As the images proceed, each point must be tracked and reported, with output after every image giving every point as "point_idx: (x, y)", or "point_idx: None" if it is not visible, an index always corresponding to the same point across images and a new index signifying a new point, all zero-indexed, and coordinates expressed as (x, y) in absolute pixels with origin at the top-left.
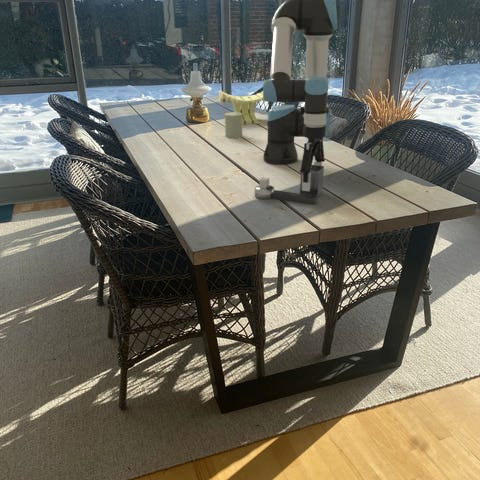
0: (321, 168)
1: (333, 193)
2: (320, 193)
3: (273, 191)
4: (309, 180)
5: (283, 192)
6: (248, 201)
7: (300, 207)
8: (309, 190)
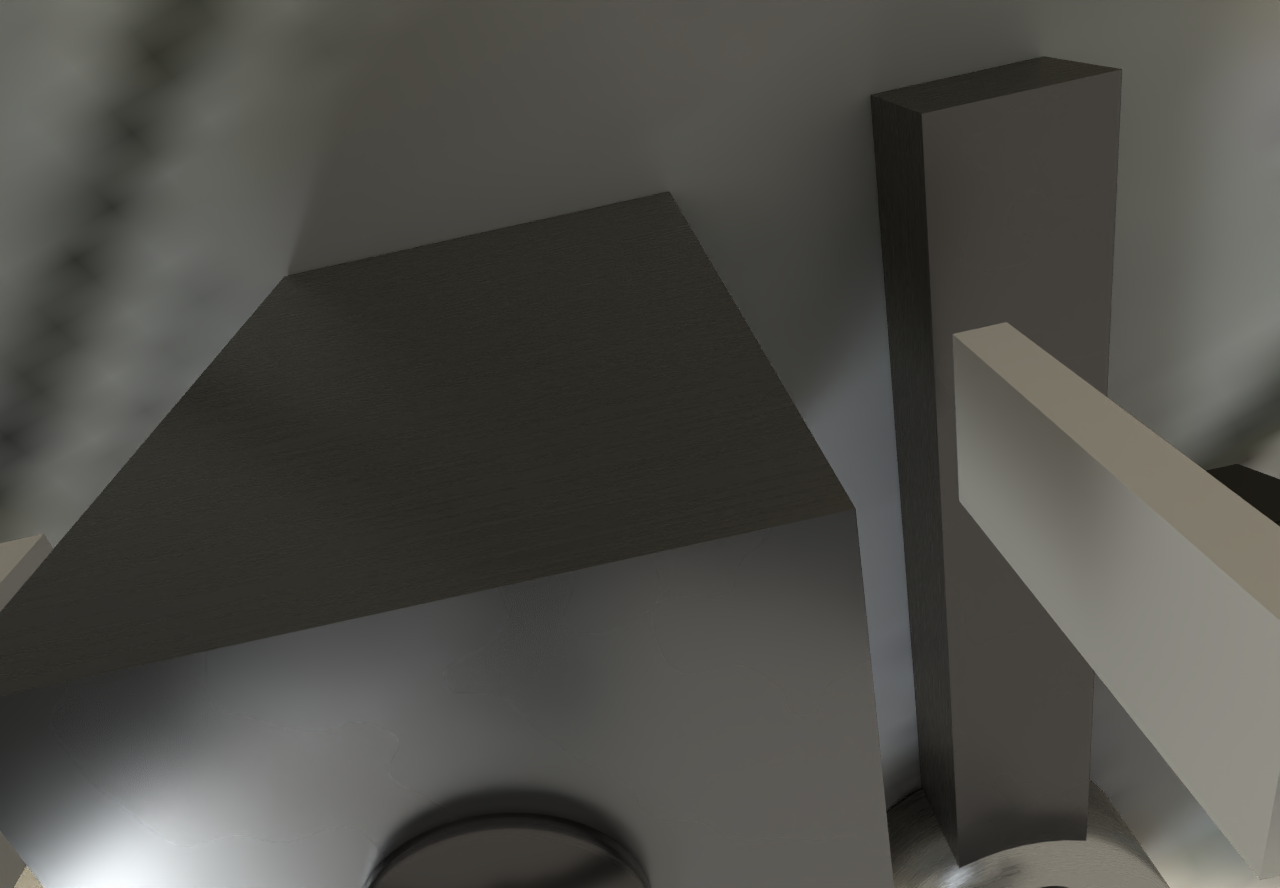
0: (350, 624)
1: (123, 32)
2: (433, 251)
3: (1027, 845)
4: (1189, 464)
5: (1003, 726)
6: (1245, 881)
7: (1270, 216)
8: (995, 333)
